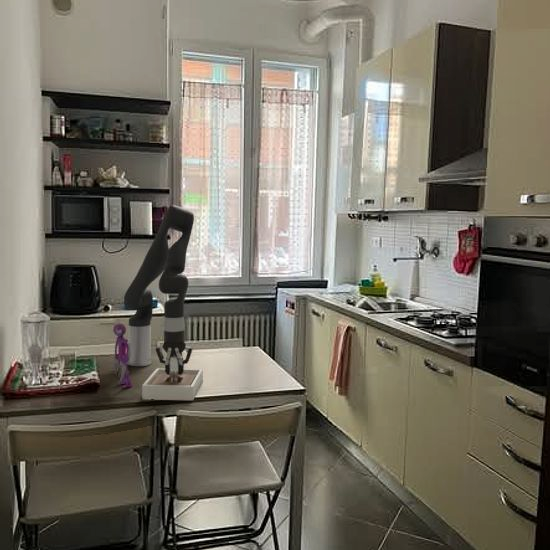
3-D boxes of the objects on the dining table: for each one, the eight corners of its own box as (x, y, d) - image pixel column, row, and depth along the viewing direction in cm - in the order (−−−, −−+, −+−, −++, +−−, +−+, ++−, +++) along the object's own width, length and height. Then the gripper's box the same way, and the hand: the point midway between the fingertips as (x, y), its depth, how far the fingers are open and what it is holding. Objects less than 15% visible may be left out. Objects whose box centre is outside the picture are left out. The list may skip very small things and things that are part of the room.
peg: (168, 384, 209) (167, 357, 208) (170, 380, 213) (170, 354, 212) (178, 384, 209) (178, 357, 208) (181, 380, 213) (180, 354, 212)
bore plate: (150, 393, 204) (150, 384, 204) (159, 381, 218) (159, 373, 218) (189, 393, 204) (189, 385, 203) (195, 382, 218) (195, 374, 217)
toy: (103, 382, 219) (102, 321, 216) (121, 379, 223) (120, 319, 220) (119, 393, 206) (118, 328, 204) (137, 390, 210) (136, 325, 208)
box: (142, 399, 200) (142, 385, 200) (156, 380, 222) (156, 368, 222) (193, 400, 200) (193, 386, 199) (202, 381, 222) (202, 369, 221)
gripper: (152, 330, 205) (153, 376, 207) (191, 331, 205) (191, 377, 206) (157, 326, 212) (157, 371, 214) (195, 326, 212) (195, 371, 214)
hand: (174, 374), depth 210 cm, fingers closed on peg, 4 cm apart
